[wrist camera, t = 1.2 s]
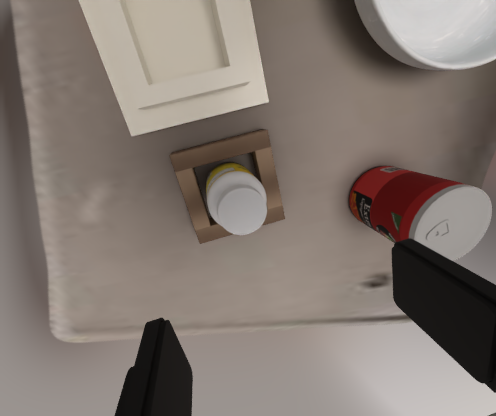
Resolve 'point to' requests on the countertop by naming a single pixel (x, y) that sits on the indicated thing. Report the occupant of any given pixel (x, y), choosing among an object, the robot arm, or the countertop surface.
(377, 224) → the canned food
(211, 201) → the supplement bottle
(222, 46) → the cream rack
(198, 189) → the walnut socket block
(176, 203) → the countertop surface
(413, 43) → the serving bowl
